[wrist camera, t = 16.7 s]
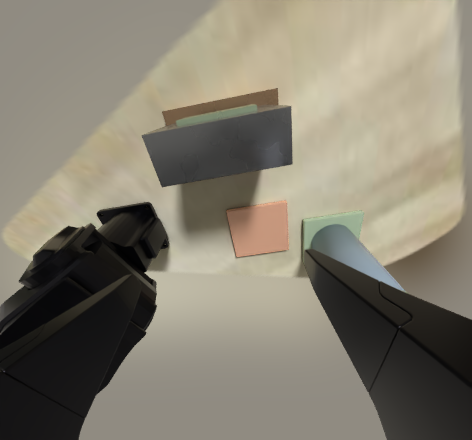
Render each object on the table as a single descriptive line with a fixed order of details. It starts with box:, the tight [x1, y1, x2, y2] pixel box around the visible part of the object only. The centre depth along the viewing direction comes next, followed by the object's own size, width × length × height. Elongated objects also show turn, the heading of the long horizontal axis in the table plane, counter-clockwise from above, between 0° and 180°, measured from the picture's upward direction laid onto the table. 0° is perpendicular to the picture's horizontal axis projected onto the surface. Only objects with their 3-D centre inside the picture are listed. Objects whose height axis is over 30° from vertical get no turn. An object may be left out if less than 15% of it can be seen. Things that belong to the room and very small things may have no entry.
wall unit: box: [142, 88, 292, 187], centre depth 15 cm, size 10×5×9 cm, turn 100°
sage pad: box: [303, 210, 364, 263], centre depth 25 cm, size 7×7×1 cm
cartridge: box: [312, 224, 409, 294], centre depth 20 cm, size 5×5×12 cm
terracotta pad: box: [227, 200, 289, 257], centre depth 24 cm, size 7×7×1 cm
